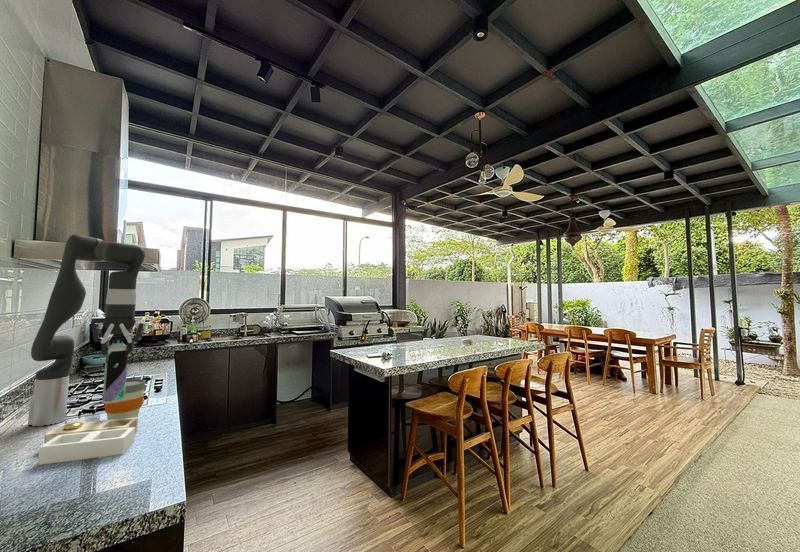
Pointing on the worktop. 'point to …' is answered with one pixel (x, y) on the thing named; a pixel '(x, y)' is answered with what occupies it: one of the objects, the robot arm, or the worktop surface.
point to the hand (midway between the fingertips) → (117, 354)
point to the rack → (86, 445)
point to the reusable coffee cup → (127, 401)
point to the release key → (73, 426)
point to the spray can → (115, 373)
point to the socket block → (94, 427)
